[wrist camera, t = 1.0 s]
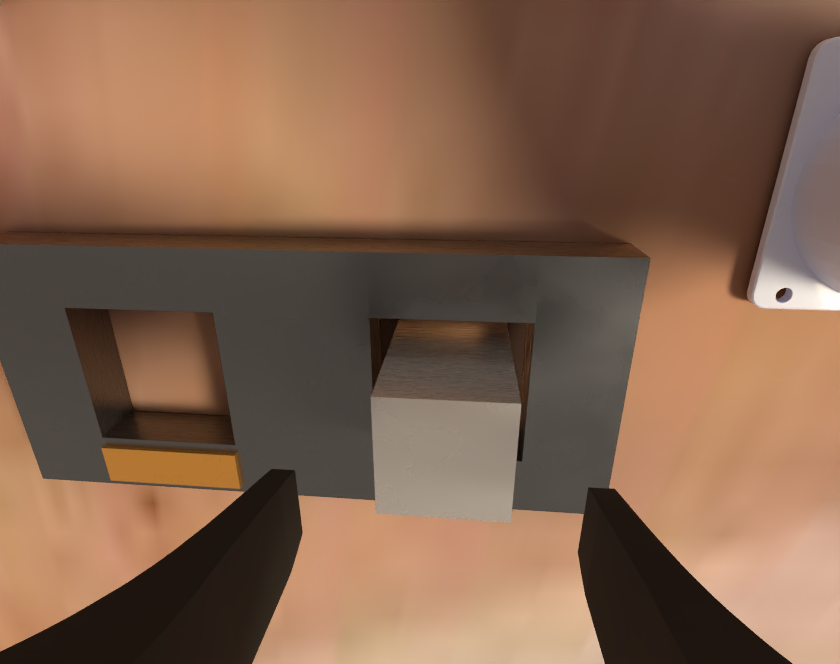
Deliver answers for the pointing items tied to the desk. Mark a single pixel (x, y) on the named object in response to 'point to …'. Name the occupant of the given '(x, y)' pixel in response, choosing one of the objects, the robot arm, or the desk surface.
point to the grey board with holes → (309, 352)
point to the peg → (446, 421)
